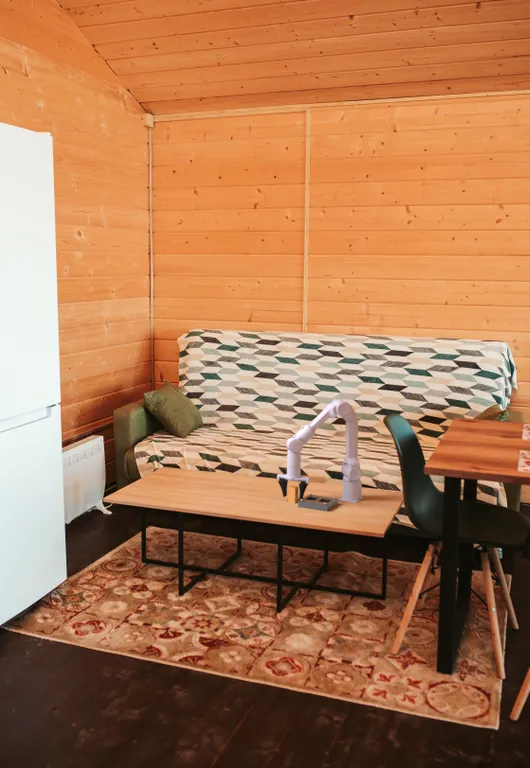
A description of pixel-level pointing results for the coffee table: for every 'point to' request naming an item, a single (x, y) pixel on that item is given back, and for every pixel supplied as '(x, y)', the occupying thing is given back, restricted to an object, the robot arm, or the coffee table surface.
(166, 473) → the coffee table surface
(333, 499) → the grey mounting plate
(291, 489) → the orange rectangular block
